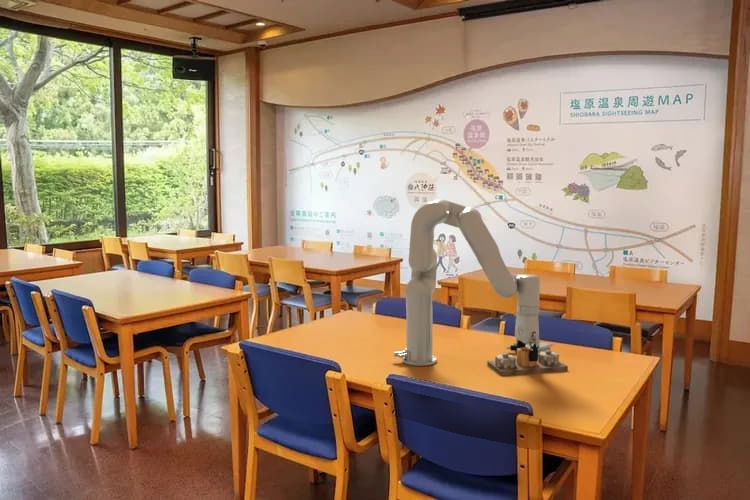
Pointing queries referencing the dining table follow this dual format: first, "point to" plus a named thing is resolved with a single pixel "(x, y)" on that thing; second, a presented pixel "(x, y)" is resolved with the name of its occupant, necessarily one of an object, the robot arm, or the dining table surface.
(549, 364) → the gear board
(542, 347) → the robot toy
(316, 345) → the dining table surface
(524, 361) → the orange gear
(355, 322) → the dining table surface
